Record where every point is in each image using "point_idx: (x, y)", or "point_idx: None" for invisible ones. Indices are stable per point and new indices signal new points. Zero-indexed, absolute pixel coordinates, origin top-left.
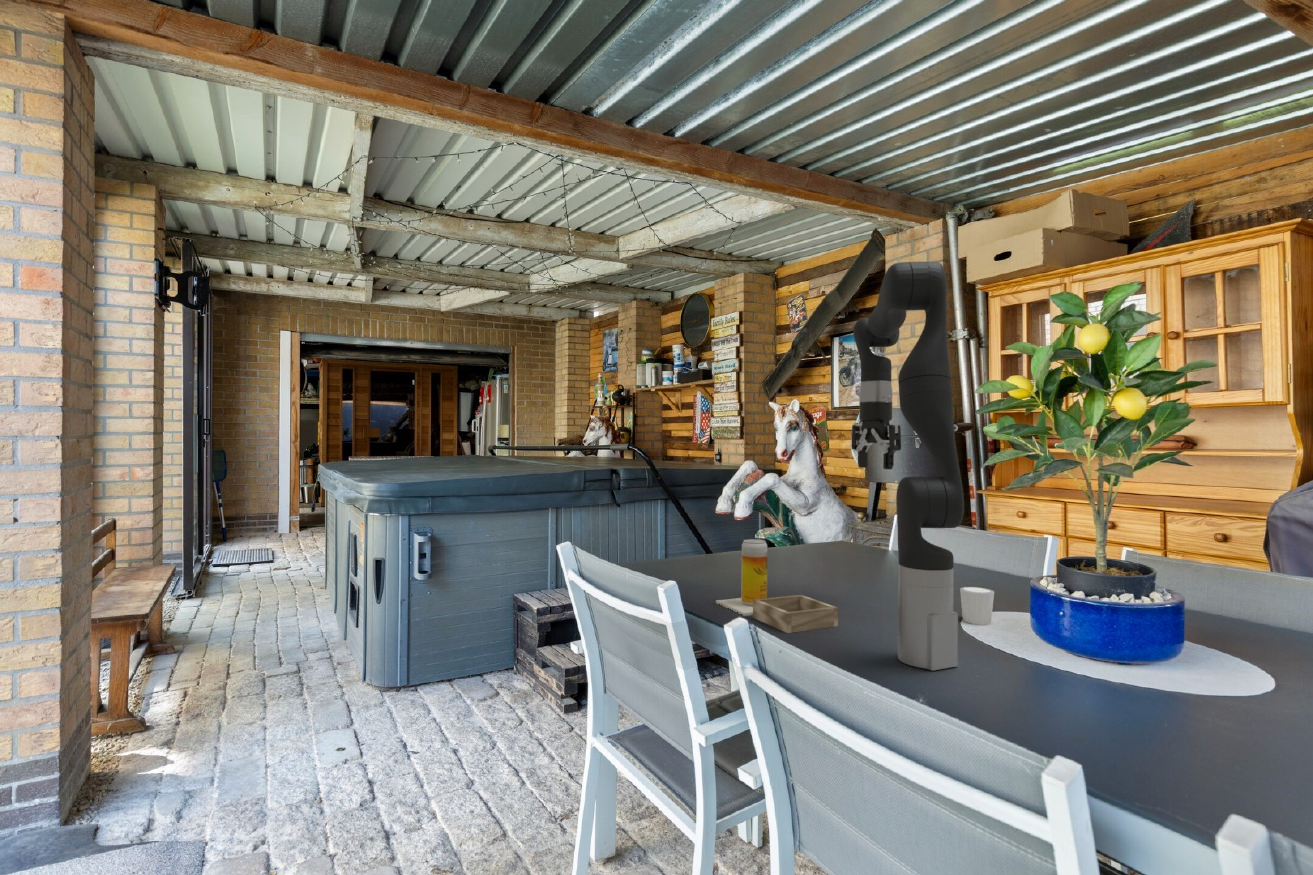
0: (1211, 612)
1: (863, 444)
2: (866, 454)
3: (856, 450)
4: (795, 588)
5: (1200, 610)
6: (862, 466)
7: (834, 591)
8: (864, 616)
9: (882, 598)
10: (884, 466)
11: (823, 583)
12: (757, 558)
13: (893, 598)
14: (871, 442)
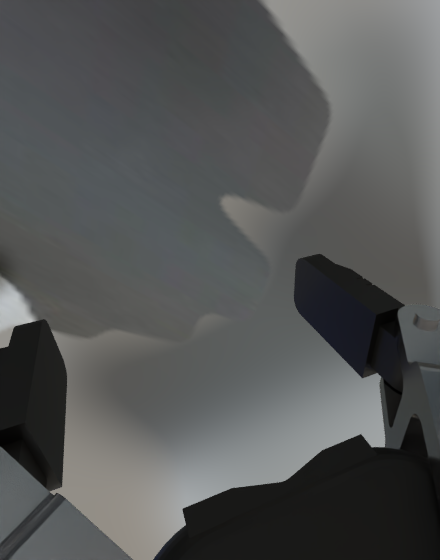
0: None
1: (410, 390)
2: (353, 359)
3: (435, 308)
4: (297, 77)
5: None
6: (300, 275)
7: (246, 148)
8: (23, 66)
9: (170, 209)
10: (25, 330)
11: (307, 167)
12: None
13: (165, 230)
14: (301, 470)
